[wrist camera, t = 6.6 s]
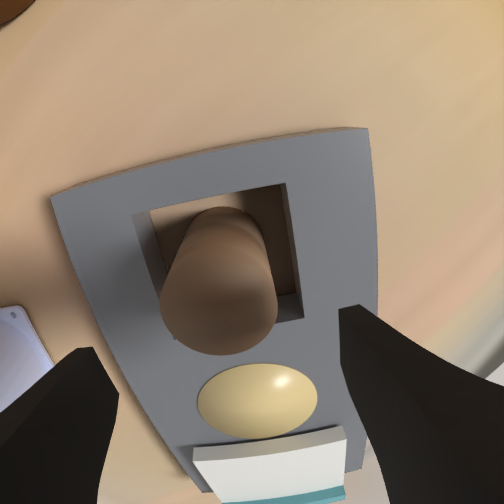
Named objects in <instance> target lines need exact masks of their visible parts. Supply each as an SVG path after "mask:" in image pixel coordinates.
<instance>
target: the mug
mask: <svg viewBox="0 0 504 504" xmlns="http://www.w3.org/2000/svg"><path fill="white" fill-rule="evenodd" d="M33 1H34V0H0V24H2V23H5V22H7V21H8V20H10V19H12V18H14V17H15V16H17V15H18V14H20V13H21V12H22V11H23V10H25V9H26V8H27V7H28V6H29V5H30V4H31V3H32V2H33Z"/></svg>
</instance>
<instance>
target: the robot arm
mask: <svg viewBox="0 0 504 504" xmlns="http://www.w3.org/2000/svg"><path fill="white" fill-rule="evenodd" d="M338 316H339V340H340V365H341V368H342V372H343V375H344V378H345V382H346V385H347V388H348V391H349V394H350V397H351V399H352V401H353V404H354V406H355V408H356V410H357V413H358V415H359V417H360V420H361V422H362V424H363V426H364V429H365V431H366V433H367V436H368V438H369V440H370V442H371V445H372V447H373V449H374V452H375V454H376V457H377V460H378V462H379V465H380V468H381V472H382V475H383V479H384V482H385V486H386V490H387V493H388V497H389V501H390V504H504V386H501V385H499V384H496V383H493V382H490V381H488V380H485V379H483V378H480V377H478V376H476V375H474V374H472V373H470V372H467V371H465V370H463V369H461V368H459V367H457V366H455V365H453V364H451V363H449V362H447V361H445V360H443V359H442V358H440V357H438V356H436V355H435V354H433V353H431V352H430V351H428V350H426V349H424V348H423V347H421V346H420V345H418V344H416V343H415V342H413V341H412V340H410V339H409V338H407V337H406V336H404V335H403V334H401V333H400V332H398V331H397V330H395V329H394V328H392V327H391V326H390V325H388V324H387V323H385V322H384V321H383V320H381V319H380V318H378V317H377V316H376V315H374V314H373V313H371V312H370V311H369V310H367V309H366V308H364V307H363V306H362V305H360V304H357V305H353V306H349V307H344V308H340V309H338ZM118 400H119V393H118V391H117V389H116V388H115V386H114V384H113V383H112V381H111V379H110V377H109V376H108V374H107V372H106V370H105V369H104V367H103V365H102V363H101V361H100V360H99V358H98V356H97V354H96V352H95V350H94V348H93V347H84V348H77V349H75V350H74V351H72V352H71V353H69V354H68V355H67V356H66V357H64V358H63V359H62V360H61V361H59V362H58V363H57V364H56V365H54V363H53V361H52V360H51V358H50V356H49V355H48V353H47V351H46V350H45V348H44V346H43V344H42V342H41V341H40V339H39V337H38V335H37V333H36V331H35V330H34V328H33V326H32V324H31V322H30V320H29V318H28V316H27V314H26V312H25V310H24V309H23V308H22V307H21V306H19V305H16V306H9V307H3V308H0V504H97V496H98V488H99V483H100V478H101V474H102V470H103V466H104V462H105V458H106V455H107V451H108V447H109V444H110V440H111V436H112V433H113V429H114V425H115V421H116V415H117V408H118Z"/></svg>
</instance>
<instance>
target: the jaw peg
mask: <svg viewBox="0 0 504 504" xmlns="http://www.w3.org/2000/svg"><path fill="white" fill-rule="evenodd" d="M160 312H161V316H162V319H163V322H164V324H165V326H166V327H167V329H168V330H169V332H170V333H171V334H172V335H173V336H174V337H175V338H176V339H177V340H178V341H179V342H180V343H182V344H183V345H185V346H186V347H188V348H190V349H192V350H195V351H197V352H200V353H204V354H208V355H217V356H224V355H233V354H237V353H241V352H244V351H247V350H249V349H251V348H253V347H254V346H256V345H257V344H259V343H260V342H261V341H262V340H263V339H264V338H265V337H266V336H267V335H268V334H269V332H270V331H271V330H272V328H273V326H274V324H275V321H276V318H277V312H278V303H277V297H276V292H275V288H274V283H273V279H272V274H271V270H270V265H269V261H268V256H267V252H266V248H265V243H264V239H263V235H262V232H261V229H260V227H259V226H258V224H257V223H256V221H255V220H254V219H253V218H252V217H251V216H250V215H248V214H247V213H245V212H243V211H241V210H239V209H236V208H232V207H215V208H211V209H208V210H206V211H204V212H202V213H201V214H199V215H198V216H197V217H196V218H195V219H194V220H193V221H192V222H191V224H190V225H189V227H188V229H187V231H186V233H185V236H184V238H183V240H182V243H181V245H180V247H179V250H178V252H177V254H176V257H175V259H174V261H173V264H172V266H171V269H170V271H169V274H168V276H167V278H166V281H165V283H164V286H163V288H162V291H161V295H160Z"/></svg>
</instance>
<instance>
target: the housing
mask: <svg viewBox="0 0 504 504" xmlns="http://www.w3.org/2000/svg"><path fill="white" fill-rule="evenodd" d="M275 184H280V188H281V194H282V200H283V206H284V212H285V219H286V225H287V232H288V238H289V245H290V252H291V259H292V265H293V272H294V280H295V287H296V293H291V294H286V295H280V296H276V297H277V303H278V312H277V318H276V321H275V324H274V326H273V328H272V330H271V331H270V332H269V334H268V335H267V336H266V337H265V338H264V339H263V340H262V341H261V342H260V343H259V344H257V345H256V346H254V347H253V348H251V349H249V350H247V351H244V352H241V353H237V354H233V355H224V356H217V355H208V354H204V353H200V352H197V351H195V350H192V349H190V348H188V347H186V346H185V345H183V344H182V343H180V342H179V341H178V340H177V339H176V338H175V337H174V336H173V335H172V334H171V333H170V332H169V330H168V329H167V327H166V326H165V324H164V322H163V319H162V316H161V312H160V295H161V291H162V288H163V286H164V283H165V281H166V278H167V276H168V274H167V271H166V267H165V264H164V261H163V258H162V254H161V251H160V248H159V244H158V241H157V238H156V234H155V231H154V227H153V224H152V220H151V217H150V213H149V210H153V209H157V208H161V207H166V206H170V205H175V204H179V203H184V202H188V201H193V200H198V199H202V198H207V197H212V196H217V195H222V194H227V193H232V192H237V191H242V190H248V189H253V188H258V187H264V186H269V185H275ZM50 199H51V203H52V206H53V209H54V213H55V216H56V219H57V222H58V225H59V228H60V231H61V234H62V237H63V240H64V243H65V246H66V248H67V251H68V254H69V257H70V259H71V262H72V265H73V267H74V270H75V272H76V275H77V277H78V280H79V282H80V285H81V287H82V290H83V292H84V294H85V297H86V299H87V301H88V304H89V306H90V308H91V310H92V313H93V315H94V317H95V319H96V321H97V324H98V326H99V328H100V330H101V332H102V334H103V336H104V338H105V340H106V342H107V344H108V346H109V348H110V350H111V352H112V354H113V356H114V358H115V360H116V362H117V364H118V365H119V367H120V369H121V371H122V373H123V375H124V376H125V378H126V380H127V382H128V384H129V385H130V387H131V389H132V391H133V392H134V394H135V396H136V397H137V399H138V401H139V402H140V404H141V406H142V407H143V409H144V411H145V412H146V414H147V416H148V417H149V419H150V420H151V422H152V423H153V425H154V427H155V428H156V430H157V431H158V433H159V434H160V436H161V437H162V439H163V440H164V442H165V443H166V445H167V446H168V447H169V449H170V450H171V452H172V453H173V455H174V456H175V457H176V459H177V460H178V462H179V463H180V464H181V466H182V467H183V468H184V470H185V471H186V472H187V474H188V475H189V476H190V478H191V479H192V480H193V482H194V483H195V484H196V485H197V487H198V488H199V489H200V490H201V492H202V493H206V492H214V491H213V490H212V489H211V487H210V486H209V484H208V483H207V482H206V480H205V479H204V477H203V476H202V475H201V473H200V472H199V470H198V469H197V467H196V466H195V464H194V463H193V450H194V447H210V446H222V445H233V444H242V443H250V442H258V441H265V440H272V439H278V438H284V437H290V436H295V435H301V434H306V433H311V432H316V431H320V430H325V429H329V428H334V427H338V426H342V425H343V429H344V432H345V435H346V438H347V442H346V457H345V470H344V473H347V472H351V471H355V470H358V469H361V468H362V464H363V458H364V452H365V446H366V439H367V433H366V431H365V429H364V426H363V424H362V422H361V420H360V417H359V415H358V413H357V410H356V408H355V406H354V404H353V401H352V399H351V397H350V394H349V391H348V388H347V385H346V382H345V378H344V375H343V372H342V368H341V365H340V340H339V316H338V309H340V308H344V307H349V306H353V305H357V304H360V305H362V306H363V307H364V308H366V309H367V310H369V311H370V312H371V313H373V314H374V315H376V316H377V311H378V249H377V222H376V205H375V191H374V179H373V168H372V158H371V149H370V141H369V133H368V128H358V127H342V128H333V129H325V130H317V131H309V132H302V133H295V134H288V135H282V136H275V137H269V138H263V139H257V140H252V141H246V142H241V143H236V144H231V145H226V146H221V147H216V148H211V149H206V150H202V151H197V152H193V153H189V154H184V155H180V156H176V157H172V158H168V159H164V160H160V161H156V162H152V163H148V164H144V165H141V166H137V167H133V168H130V169H126V170H123V171H119V172H116V173H113V174H109V175H106V176H103V177H99V178H96V179H93V180H90V181H87V182H84V183H80V184H77V185H74V186H72V187H70V188H68V189H66V190H64V191H62V192H59V193H57V194H55V195H53V196H51V197H50Z"/></svg>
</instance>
